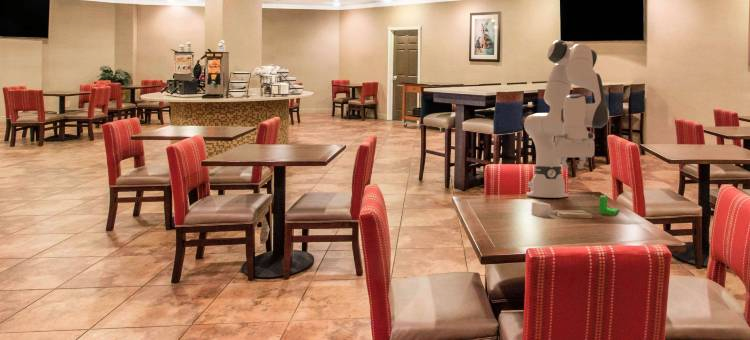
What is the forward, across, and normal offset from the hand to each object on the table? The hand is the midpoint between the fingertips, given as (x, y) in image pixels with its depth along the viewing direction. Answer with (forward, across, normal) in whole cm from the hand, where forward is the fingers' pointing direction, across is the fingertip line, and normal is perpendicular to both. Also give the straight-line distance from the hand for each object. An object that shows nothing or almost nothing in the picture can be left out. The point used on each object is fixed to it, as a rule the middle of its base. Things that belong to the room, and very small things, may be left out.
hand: (572, 168), depth 249 cm
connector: (+19, -11, +6) cm, 23 cm away
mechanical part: (+20, +20, -2) cm, 28 cm away
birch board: (+19, 0, 0) cm, 19 cm away
